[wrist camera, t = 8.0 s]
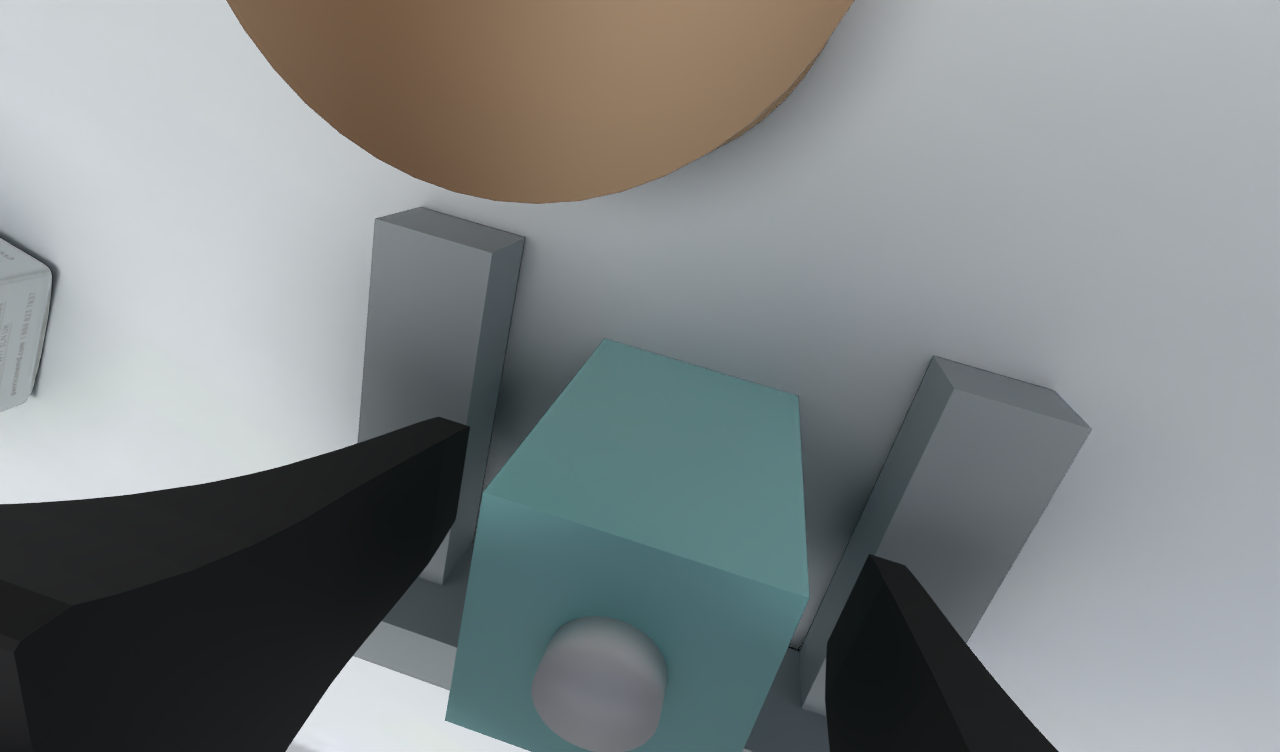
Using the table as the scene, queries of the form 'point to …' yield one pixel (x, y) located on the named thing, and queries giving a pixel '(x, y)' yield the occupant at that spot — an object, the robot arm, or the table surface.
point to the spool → (541, 82)
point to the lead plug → (636, 564)
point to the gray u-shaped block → (888, 528)
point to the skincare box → (21, 322)
